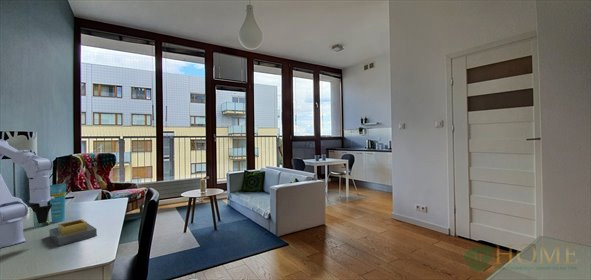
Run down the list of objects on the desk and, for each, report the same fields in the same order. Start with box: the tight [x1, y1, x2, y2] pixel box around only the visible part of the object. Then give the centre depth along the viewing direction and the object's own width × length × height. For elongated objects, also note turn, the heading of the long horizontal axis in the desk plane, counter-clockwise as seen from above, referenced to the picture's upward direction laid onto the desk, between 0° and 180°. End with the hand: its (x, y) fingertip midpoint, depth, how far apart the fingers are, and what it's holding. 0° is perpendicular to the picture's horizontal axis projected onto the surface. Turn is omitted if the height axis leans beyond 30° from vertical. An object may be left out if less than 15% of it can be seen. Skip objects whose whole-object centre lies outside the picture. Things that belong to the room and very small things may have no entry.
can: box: [32, 211, 50, 229], centre depth 100 cm, size 4×4×6 cm
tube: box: [49, 183, 67, 223], centre depth 130 cm, size 7×5×19 cm, turn 123°
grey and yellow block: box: [48, 218, 98, 247], centre depth 108 cm, size 12×18×6 cm, turn 53°
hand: (41, 221), depth 101 cm, fingers closed on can, 4 cm apart
